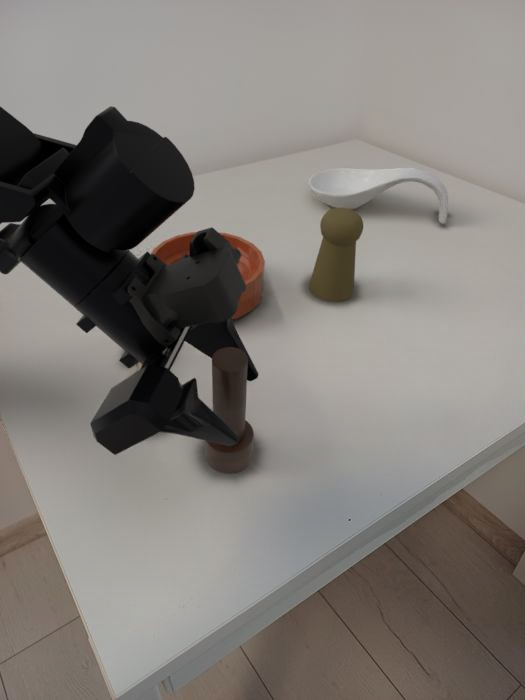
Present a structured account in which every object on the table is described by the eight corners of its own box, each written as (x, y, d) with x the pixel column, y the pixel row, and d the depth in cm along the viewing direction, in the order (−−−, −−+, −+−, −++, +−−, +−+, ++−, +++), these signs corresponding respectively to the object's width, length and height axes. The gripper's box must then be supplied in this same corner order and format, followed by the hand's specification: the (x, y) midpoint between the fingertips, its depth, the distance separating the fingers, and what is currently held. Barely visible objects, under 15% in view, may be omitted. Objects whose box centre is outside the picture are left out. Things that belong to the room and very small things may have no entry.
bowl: (138, 319, 62) (133, 285, 59) (168, 258, 73) (165, 226, 69) (254, 333, 61) (256, 298, 58) (267, 269, 72) (270, 237, 68)
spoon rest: (300, 211, 86) (304, 168, 81) (313, 183, 94) (318, 144, 90) (445, 235, 82) (458, 193, 77) (445, 205, 90) (457, 164, 86)
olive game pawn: (306, 298, 67) (316, 221, 60) (311, 273, 72) (321, 199, 64) (352, 305, 66) (368, 228, 59) (354, 279, 71) (369, 205, 64)
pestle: (200, 470, 46) (195, 374, 38) (210, 432, 49) (207, 337, 42) (248, 476, 46) (254, 381, 38) (255, 438, 49) (261, 343, 41)
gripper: (109, 298, 26) (303, 472, 32) (211, 162, 40) (333, 301, 46) (8, 382, 32) (187, 514, 38) (127, 238, 46) (244, 352, 52)
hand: (245, 408), depth 43 cm, fingers open, 7 cm apart
